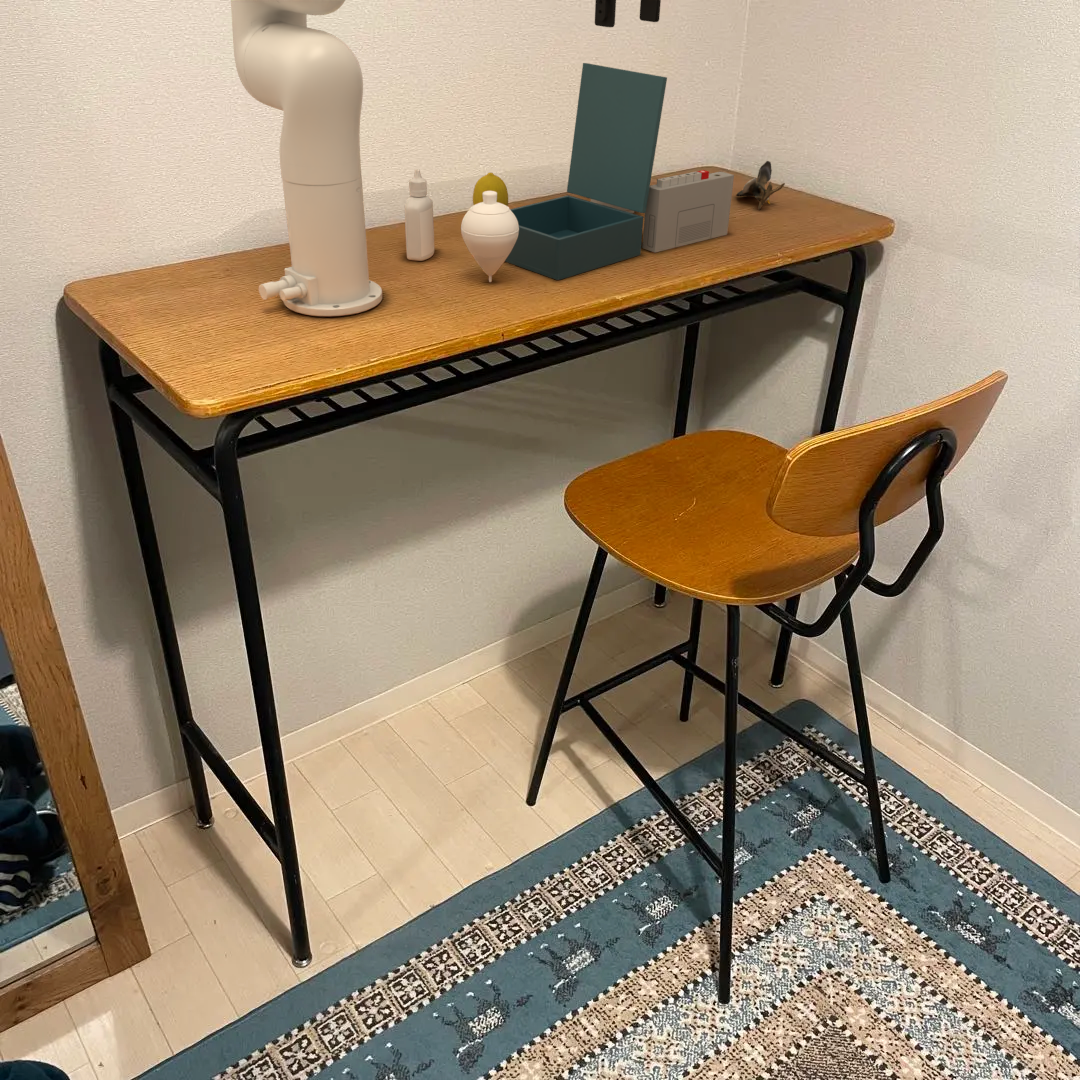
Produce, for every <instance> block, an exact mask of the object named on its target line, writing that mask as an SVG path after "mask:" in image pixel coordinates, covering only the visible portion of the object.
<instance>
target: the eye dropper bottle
mask: <svg viewBox="0 0 1080 1080" xmlns="http://www.w3.org/2000/svg"><path fill="white" fill-rule="evenodd" d="M427 183H428V182H427V179H426V178H423V177H422V173H421V170H420V169H414V173H413V177H412V178H410V179H409V180H408V188H409V189H408V190H409V197H408V198H407V199H406V201H405V204H404V224H405V225H404V227H405V229H404V230H405V248H406V250H405V251H406V258H407V260H409V261H415V262H424V261H425V260H428V259H430V258H432V256H434V254H435V249H436V248H435V225H434V222H435V221H434V203H433V202H434V201H433V200H432V198H431V197H430V196H428V184H427Z"/></svg>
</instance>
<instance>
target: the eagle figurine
mask: <svg viewBox="0 0 1080 1080" xmlns="http://www.w3.org/2000/svg"><path fill="white" fill-rule="evenodd" d="M772 171H773V169H772V163H771V161H769V160H766V161H765V162H764V163H763V164H762V165H761V166H760V167H759V170H758V173H757V177H753V178H752V179H750V180H749V181H747V182H746V183H745V184H744V185H743V188H742V189H741V190H740V191H738V192H737V193H736V194H735V196H736V197H754V198H755V199H756V201H758V202H759V203H758V208H757V209H758V210H759V211H760V210H761V208H762V206H764V204H766V203H767V204H768V205H771V202H770V197H771V196H772V195H773V194H774V193H777V192H778V191H780V190H781V189H783V188H784V186H785V185H786V183H785V182H783V183H781V184H780V185H778V186H777V187H775V188H773V184H772V181H771V180H772V179H771V178H772ZM767 184H768V185H767ZM766 185H767V187H766Z"/></svg>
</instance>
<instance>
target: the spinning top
mask: <svg viewBox="0 0 1080 1080" xmlns="http://www.w3.org/2000/svg"><path fill="white" fill-rule="evenodd" d="M482 195H483V202H481V203H478V204H475V205H473V204H472V206H470V208H469V209H468V210H467V211H466V213H465V214H464V216H463V217H462V220H461V224H460V233H461V237H462V240H463V242H464V244H465V246H466V249H467V250H468V252H469V253H470V255H471V256H472V257H473V259H474V261H475V262H476V264H478V266H479V268H480V269H481V270H482V272H484V273H485V275H487V276H488V283H492V281H493V280H492V279H493V276H494V275H495V274H496V273H497V271H498V270H499V269H500V268H501V267H502V265H503V264H504V263H505V260H506V258H507V257H508V255H509V254H510V252H511V251H512V249H513V247H514V245H515V243H516V240H517V238H518V234H519V225H518V221H517V219H516V217H515V215H514V214H513V212H512V211H511V210H510V209H511V208H510V207H509V205H508V206H506V205H504V204H501V203H498V202H496V201H497V192H495V191H485V192H483V193H482Z"/></svg>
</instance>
